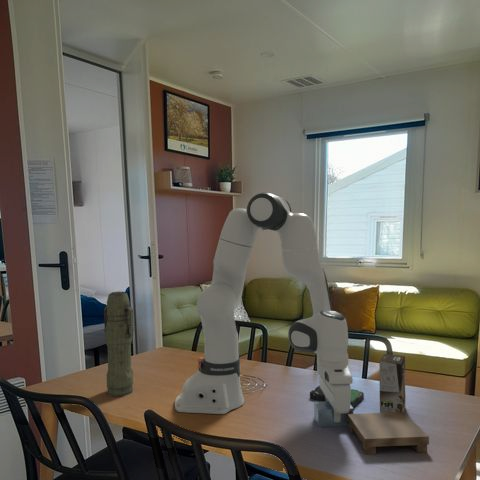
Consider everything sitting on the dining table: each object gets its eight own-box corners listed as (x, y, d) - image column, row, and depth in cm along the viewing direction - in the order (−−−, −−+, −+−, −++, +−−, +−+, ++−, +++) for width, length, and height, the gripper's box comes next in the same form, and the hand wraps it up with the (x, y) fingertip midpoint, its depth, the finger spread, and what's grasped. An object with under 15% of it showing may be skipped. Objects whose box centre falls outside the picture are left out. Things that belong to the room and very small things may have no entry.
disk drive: (309, 400, 137) (353, 410, 128) (309, 392, 137) (352, 401, 128) (322, 390, 145) (364, 399, 137) (322, 382, 145) (364, 390, 136)
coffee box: (402, 419, 121) (401, 364, 120) (379, 414, 124) (378, 361, 124) (406, 407, 129) (405, 355, 128) (384, 403, 132) (384, 353, 132)
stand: (365, 455, 102) (365, 438, 102) (347, 428, 116) (347, 414, 116) (429, 452, 102) (428, 436, 102) (404, 426, 116) (404, 412, 116)
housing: (318, 427, 117) (318, 409, 116) (314, 418, 122) (313, 401, 122) (353, 426, 117) (353, 408, 117) (347, 417, 122) (347, 400, 122)
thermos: (113, 385, 152) (111, 290, 151) (141, 388, 148) (139, 291, 147) (97, 394, 143) (95, 293, 143) (127, 398, 139) (124, 294, 139)
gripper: (313, 357, 129) (314, 401, 130) (331, 380, 109) (331, 432, 109) (333, 356, 130) (334, 400, 130) (354, 379, 109) (355, 431, 110)
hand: (333, 415), depth 119 cm, fingers closed on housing, 5 cm apart
